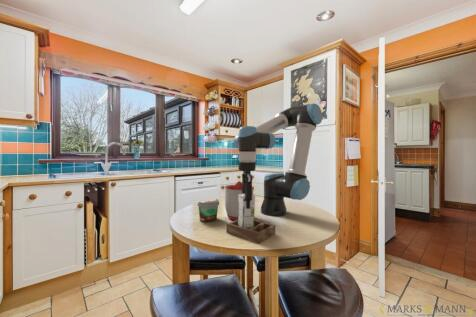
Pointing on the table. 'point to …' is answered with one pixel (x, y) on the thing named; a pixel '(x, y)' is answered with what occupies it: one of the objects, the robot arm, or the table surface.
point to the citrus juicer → (233, 199)
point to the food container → (208, 211)
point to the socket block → (252, 231)
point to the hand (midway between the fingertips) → (246, 213)
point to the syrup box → (243, 220)
